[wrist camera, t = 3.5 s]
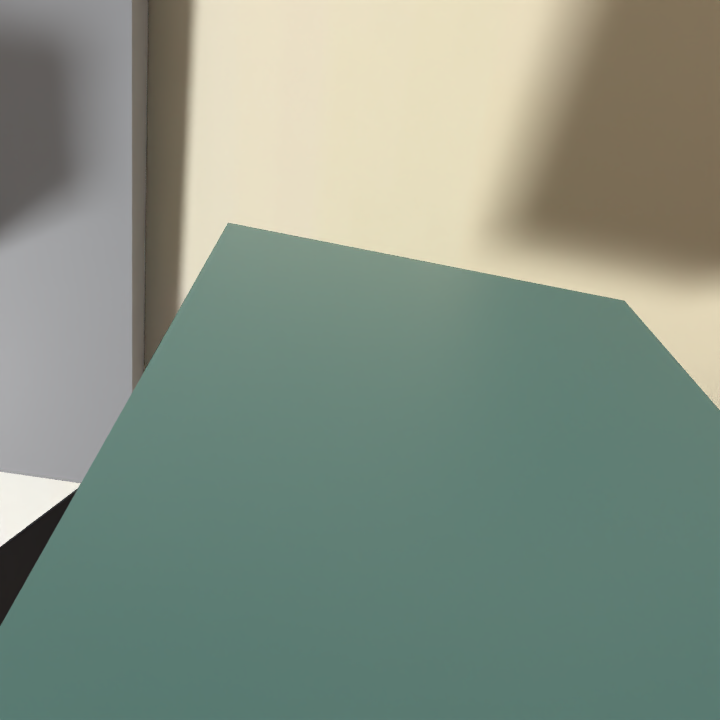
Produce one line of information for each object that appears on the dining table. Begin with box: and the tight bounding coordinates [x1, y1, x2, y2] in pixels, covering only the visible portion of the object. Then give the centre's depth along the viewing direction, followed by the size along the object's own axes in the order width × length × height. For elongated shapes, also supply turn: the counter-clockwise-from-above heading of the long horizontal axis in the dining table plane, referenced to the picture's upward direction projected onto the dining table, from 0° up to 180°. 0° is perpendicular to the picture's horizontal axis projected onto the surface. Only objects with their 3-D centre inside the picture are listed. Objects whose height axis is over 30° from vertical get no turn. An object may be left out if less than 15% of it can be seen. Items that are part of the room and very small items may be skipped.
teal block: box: [0, 223, 720, 720], centre depth 7 cm, size 6×6×7 cm
